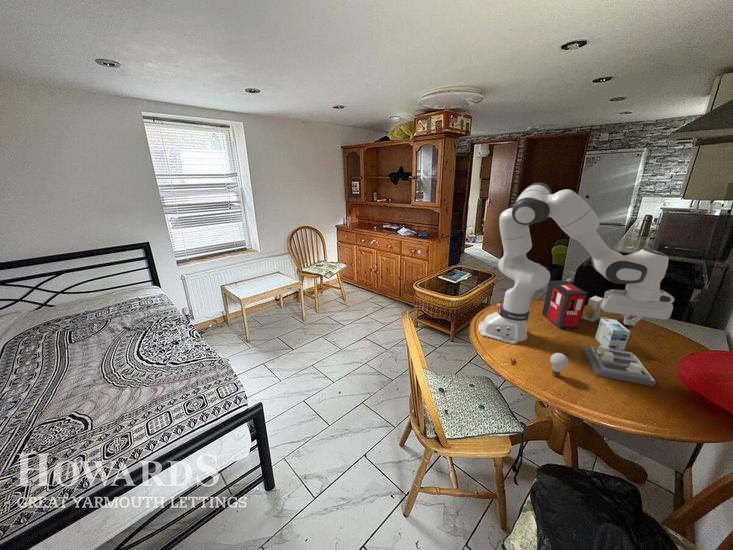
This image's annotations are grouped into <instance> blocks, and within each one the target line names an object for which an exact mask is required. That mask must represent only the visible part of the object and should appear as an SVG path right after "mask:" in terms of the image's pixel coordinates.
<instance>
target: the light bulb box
mask: <svg viewBox="0 0 733 550" xmlns="http://www.w3.org/2000/svg"><path fill="white" fill-rule="evenodd" d="M630 334H631V330H630V329H628V328H627V327H626V326H625V325H624V324H622V323H620V322H619V321H618V320H617V319H613V318H611V319H609V318H600V320H599V324H598V327H597V329H596V333H595V337H594V338H595V340H596V341H598V343H599V345H605V346H608V347H609V349H613V350H619V351H625V349H626V346H627V344H628V343H627V342H628V340H629V337H630Z"/></svg>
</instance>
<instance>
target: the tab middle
mask: <svg viewBox="0 0 733 550" xmlns="http://www.w3.org/2000/svg"><path fill="white" fill-rule="evenodd" d="M613 359H614V355H613V353H611V352H605V351H604V352H603V355H602V357H601V356H600V360H603V361H609V362H614V361H613Z"/></svg>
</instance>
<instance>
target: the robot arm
mask: <svg viewBox="0 0 733 550" xmlns="http://www.w3.org/2000/svg"><path fill="white" fill-rule="evenodd" d="M548 218H551V219H553V220H554V221H555V223H556V224H557V225H558V227H559V228H560V229H561V230H562V231H563V232H564V233H565V234H566V235H567V236H568V237H570V238H571V239H572V240H576V241H578V243H580V245H582V247H583V248H584V249H585V251H586V252H587V253H588V255H590V259H591V261H590V262H591V266H592V267H593V269H594V270H595V271H596V272H597V273H599V274H600V275H602V276H603V277H604V278H605V279H606V280H608V281H609V282H611V283H613V284H617V285H625V289H614V288H613V289H608V290H606V291H605V292H604V295H603V298H604V299H603V301H602V303H601V310H602V311H603V312H605V313H612V314H620V315H622V317H623V325H624V326H625V325H626V326H634V327H635V326H636V323H637V322H640V320H642V318H650V319H656V320H668V319H669V318H671V315H672V314H673V313H672V312H673V310H674V305H673V303H674V302H675V297H674V296H672V295H671V294H670V293H668V292H667V291H664V290H663V289H661V282H662V280H663V279H664V278H665V276H666V274H667V273H666V272H667V269H668V266H669V256H668V255H667V254H666V253H664V252H662V251H659V250H656V249H651V248H641V249H640V250H638V251H636V252H633V253H629V254H626V255H624V254H622V253H621V252H619V251H618V250H616V249H613V248H611V247H609V246H608V245H607V244H606V243H605V241H604V240H603V239H602V237H601V236H600V235H599V233H598V231H597V230H598V228H599V226H600V219H599V218H598V216H597V213H596V212H595V211H594V210H593V208H592V207H591V206H590V205H589V204H588V202H586V201H585V199H584V198H582V197H581V196H580V195H579V194H578V193H576V192H575V191H574V190H572V189H562V190H559V191H557V192H555V193H552V189H551V188H550V187H549V185H547V184H546V183H545V182H544V183H543V182H534V183H532V184H529V185H528V186H526V188H524V190H523V191H522V192H521V193H520V195H518V197H517V199H516V200H515V202H514V204H513V206H512V207H509V208H507V209H505V210H504V211H502V212H501V213H500V215H499V218H498V219H499V224H498V225H499V232H500V233H499V235H500V237H501V243H502V248H503V256H502V257H501V258H500V259H499V261H498V264H497V268H498V269H499V271H500V272H501V273H502V274H503V275H504V276H506V277H507V278H509V279H511V280H513V281H514V286H513V287H511V288H509V289H507V290H506V291H505V293H504V298H503V304H501V303H500V302H499V303H497V304H496V307H497V311H495V312H493V313H490V314H487V315H486V316H485V318H484V320H481V321H480V322H479V323H478V327H477V330H479V331H478V333H479V332H480V333H479V335H480V336H482V337H484V336H486V337H485V338H488V337H490V338H489V339H492V338H494V339H493V340H496V339H497V341H500V340H501V342H503V341H504V343H507V342H508V343H507V344H511V345H515V344H517V343H519V342H523V341H526V340H527V339H528V333H527V325H528V324H527V323H528V321H529V318H530V305H531V301H532V298H533V296H534V294H535V293H536V292H537V291H538V290H540V289H541V290H542V289H543V288H544V287H545V288H546V286H548V284H549V281H551V273H550V272H551V271H549V270H548V269H547V268H546V267H544V266H543V265H541V264H540V263H537V262H535V261H534V260H533V261H532V260H530V259H529V258H528V257H527V253H529V251H530V250H531V249H532V248H533V243H532V242H533V241H532V237H531V233H530V230H531V229H530V225H533V224H537V223H539V222H544V221H545V220H547V219H548ZM630 316H634V317H633V318H631V319H630Z"/></svg>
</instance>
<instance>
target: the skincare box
mask: <svg viewBox="0 0 733 550" xmlns="http://www.w3.org/2000/svg"><path fill="white" fill-rule="evenodd" d="M603 299H604V297H600V296H597V295H594V296H592V297H590V298H588V301H587V302H588V303H587V307H586V310H585V313H584V317H583V319H584V320H587V321H588V322H589V321H590V322H591V323H593V322H596V321H597V320H598V319H599V316H600V314H601V310H602V308H601V303H602V301H603Z"/></svg>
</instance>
